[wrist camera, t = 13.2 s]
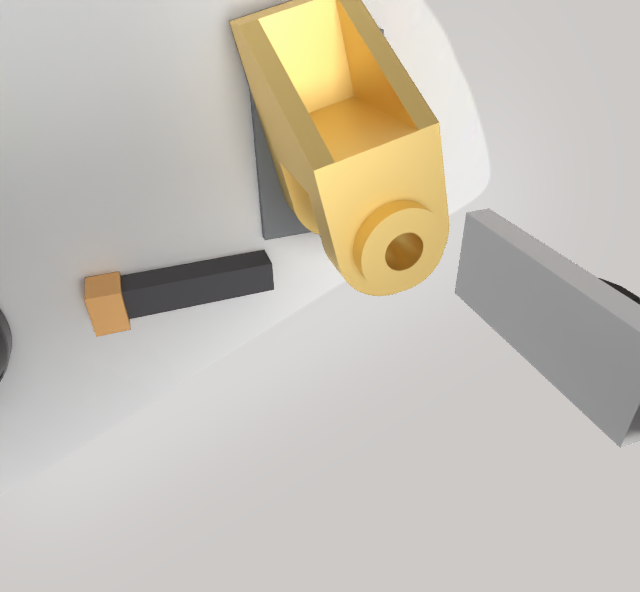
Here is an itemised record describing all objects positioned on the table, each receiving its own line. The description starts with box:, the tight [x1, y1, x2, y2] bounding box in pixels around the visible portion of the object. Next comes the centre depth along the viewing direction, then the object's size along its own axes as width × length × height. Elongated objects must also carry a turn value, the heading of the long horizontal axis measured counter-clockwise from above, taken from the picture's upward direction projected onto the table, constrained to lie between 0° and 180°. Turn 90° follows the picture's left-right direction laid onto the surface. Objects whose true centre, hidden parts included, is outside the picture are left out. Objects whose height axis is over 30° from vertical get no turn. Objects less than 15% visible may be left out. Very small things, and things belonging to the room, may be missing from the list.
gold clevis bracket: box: [229, 0, 449, 296], centre depth 41 cm, size 20×9×16 cm, turn 15°
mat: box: [250, 29, 384, 240], centre depth 49 cm, size 12×18×1 cm, turn 2°
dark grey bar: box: [84, 250, 274, 337], centre depth 50 cm, size 17×4×4 cm, turn 92°
